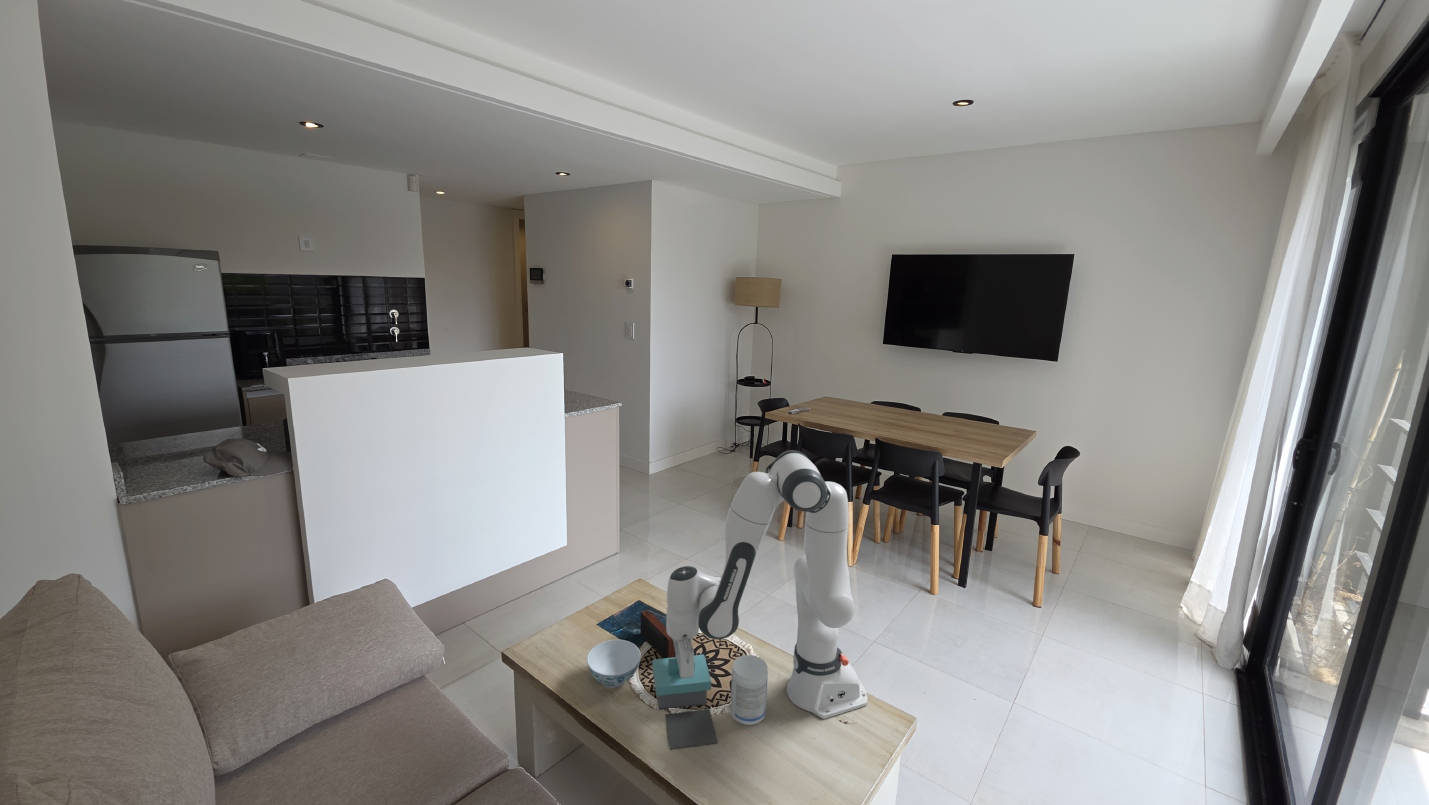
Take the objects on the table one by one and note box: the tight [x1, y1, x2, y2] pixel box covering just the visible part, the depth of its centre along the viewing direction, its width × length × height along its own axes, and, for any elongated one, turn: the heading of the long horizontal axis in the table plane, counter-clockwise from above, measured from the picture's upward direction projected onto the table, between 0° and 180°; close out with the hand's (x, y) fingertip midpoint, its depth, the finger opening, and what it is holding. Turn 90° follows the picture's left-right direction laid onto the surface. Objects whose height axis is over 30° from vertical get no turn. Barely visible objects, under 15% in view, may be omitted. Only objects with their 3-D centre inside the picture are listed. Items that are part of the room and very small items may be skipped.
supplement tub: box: [729, 654, 769, 726], centre depth 152 cm, size 10×10×15 cm
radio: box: [640, 609, 676, 659], centre depth 175 cm, size 19×3×15 cm, turn 37°
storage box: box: [656, 690, 708, 711], centre depth 158 cm, size 13×9×7 cm
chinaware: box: [586, 639, 642, 689], centre depth 163 cm, size 15×15×8 cm
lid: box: [651, 654, 712, 697], centre depth 157 cm, size 15×11×6 cm
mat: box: [665, 708, 719, 750], centre depth 147 cm, size 12×11×1 cm
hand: (681, 668), depth 156 cm, fingers closed on lid, 2 cm apart
